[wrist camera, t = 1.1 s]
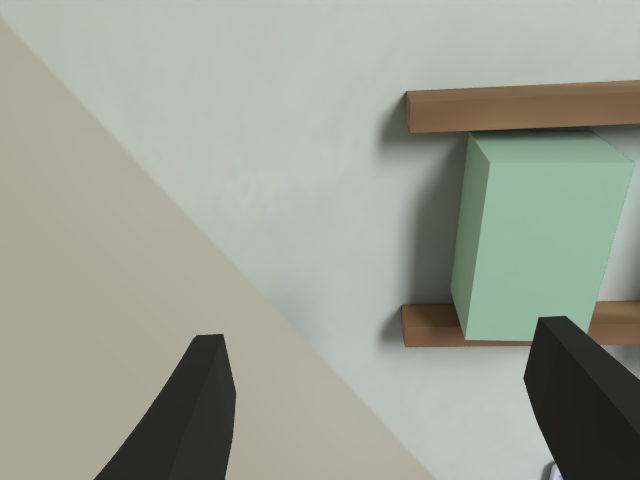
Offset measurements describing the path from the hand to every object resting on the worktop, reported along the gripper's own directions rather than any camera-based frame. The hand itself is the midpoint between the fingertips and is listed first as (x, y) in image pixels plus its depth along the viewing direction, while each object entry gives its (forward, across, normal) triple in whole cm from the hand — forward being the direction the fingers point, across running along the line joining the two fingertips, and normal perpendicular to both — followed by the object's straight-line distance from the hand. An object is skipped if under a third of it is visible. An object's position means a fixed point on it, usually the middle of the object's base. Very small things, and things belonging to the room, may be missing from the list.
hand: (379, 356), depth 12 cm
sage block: (+12, -8, +4) cm, 14 cm away
